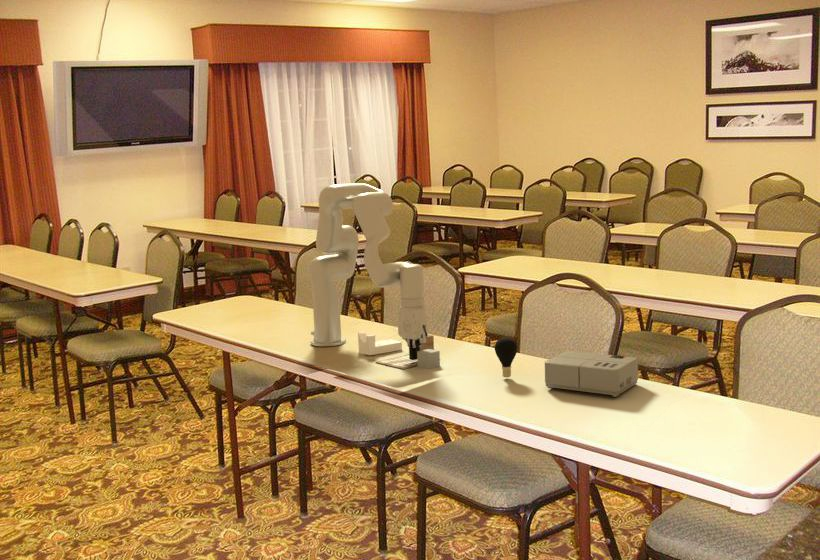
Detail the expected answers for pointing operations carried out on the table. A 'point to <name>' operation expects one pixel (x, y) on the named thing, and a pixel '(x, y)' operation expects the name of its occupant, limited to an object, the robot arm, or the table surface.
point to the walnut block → (428, 343)
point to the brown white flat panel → (400, 362)
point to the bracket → (376, 345)
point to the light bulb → (506, 354)
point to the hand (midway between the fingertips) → (414, 358)
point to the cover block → (428, 358)
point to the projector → (591, 372)
